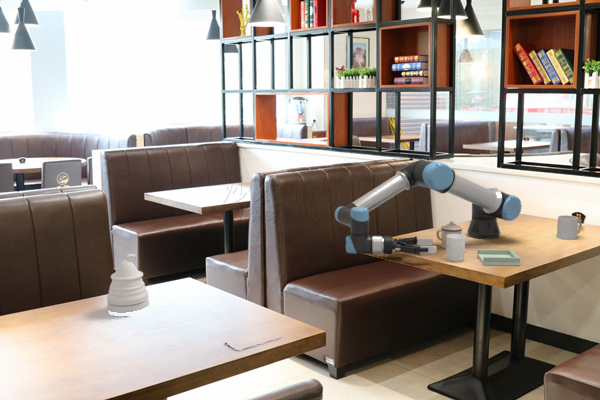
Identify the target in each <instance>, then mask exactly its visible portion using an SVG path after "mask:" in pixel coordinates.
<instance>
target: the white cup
mask: <svg viewBox="0 0 600 400" xmlns="http://www.w3.org/2000/svg"><path fill="white" fill-rule="evenodd" d="M466 236H467V235H465V234H462V233H461V234H448V235H446V249H445V250H446V259H447V261H450V262H458V263H459V262H463V261H464V260H465V253H466V252H465V251H466V250H465V249H466V241H467V240H466V239H467V237H466Z"/></svg>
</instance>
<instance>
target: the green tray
mask: <svg viewBox="0 0 600 400" xmlns="http://www.w3.org/2000/svg"><path fill="white" fill-rule="evenodd" d="M476 254H477V258H478V259H479V260H480V262H481V263H482V265H483V266H514V267H516V266H519V267H520V266H521V258H520V256H519V255H518V254H517V253H516V252H515V251H514V250H513V249H499V248H498V249H497V248H496V249H494V248H492V249H490V248H489V249H487V248H486V249H485V248H482V249H481V248H477V253H476Z"/></svg>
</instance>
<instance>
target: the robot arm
mask: <svg viewBox="0 0 600 400" xmlns="http://www.w3.org/2000/svg"><path fill="white" fill-rule="evenodd" d="M415 187H421V188H422V187H423V188H427V189H429V190H433V191H434V192H437V193H439V194H446V193H448V194H450V195H453V196H455V197H458V198H460V199H462V200H464V201H466V202H468V203H471V220H470V222H469V225H468V228H467V234H466V236H468V237H470V238H471V237H472V238H475V239H488V240H489V239H490V240H491V239H498V238H499V237H500V236H501V229H500V228H499V224H498V221H497V219H500V220H502V221H508V222H512V221H514V220H516V219H518V217H519V216H520V213H521V211H522V200H521V199H520V198H519V197H518V196H516V195H513V194H509V193H506V192H504V191H501V190H499V189H498V188H496V187H495V188H494V187H490V188H488V187H487V188H486V187H485V186H482V185H480V184H478V183H475V182H473V181H471V180H468V179H467V178H465V177H462V176H460V175H457V174H456V171H455V170H454V169H453V168H451V167H450V166H449V165H448V164H446V163H444V162H441V161H432V160H427V159H419V160H415V161H413V162H411V163H408V164H407V165H405V166H404V167H402V168H400V169H399V170H397V171H396V172H395V175H394V176H392V177H390V178H388V179H387V180H386V181H384V182H382V183H381V184H379V185H378V186H376V187H375V188H373V189H372V190H370V191H368V192H367V193H365V194H363V195H362V196H360V197H359V198H357V199H355V200H354V201H352V202H351V203H349V204H348V205H346V206H345V205H342V206H339V207H337V208H336V209H335V210H334V211H335V212H334V217H335V218H334V219H335V220H336V221H337V222H338V223H339V224H341V225H345V226H347V227H349V228H350V235H346V237H345V251H346V253H347V254H355V255H362V254H363V255H366V254H367V255H368V254H371V255H375V256H377V255H382V254H384V255H392V254H393V251H394V252H395V253H404V254H405V253H406V254H411V255H412V254H413V255H417V256H420V255H421V254H437V246H436V245H433V244H434V238H421V237H420V238H418V236H416V235H414V236H412V237H411V236H410V237H401V238H393V236H391V235H384V236H382V235H369V226H370V224H369V223H370V222H369V221H370V216H369V214H370V213H371V212H372V210H374V209H376V208H377V207H379V206H381V205H383V204H384V203H385V202H387V201H389V200H390V199H392V198H394V197H395V196H396V195H398V194H399V193H401V192H403V191H404V190H405V191H408V190H410V189H412V188H415Z"/></svg>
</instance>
